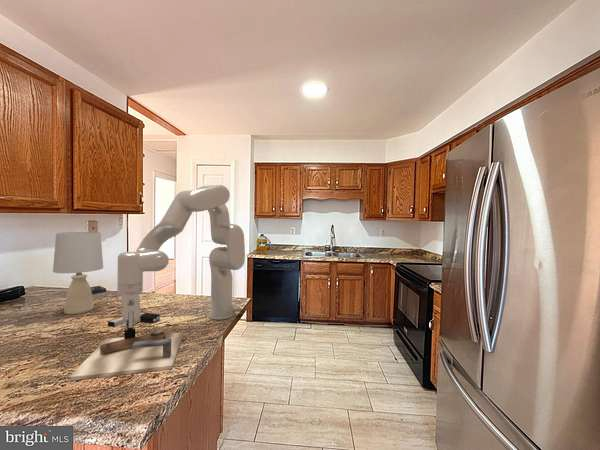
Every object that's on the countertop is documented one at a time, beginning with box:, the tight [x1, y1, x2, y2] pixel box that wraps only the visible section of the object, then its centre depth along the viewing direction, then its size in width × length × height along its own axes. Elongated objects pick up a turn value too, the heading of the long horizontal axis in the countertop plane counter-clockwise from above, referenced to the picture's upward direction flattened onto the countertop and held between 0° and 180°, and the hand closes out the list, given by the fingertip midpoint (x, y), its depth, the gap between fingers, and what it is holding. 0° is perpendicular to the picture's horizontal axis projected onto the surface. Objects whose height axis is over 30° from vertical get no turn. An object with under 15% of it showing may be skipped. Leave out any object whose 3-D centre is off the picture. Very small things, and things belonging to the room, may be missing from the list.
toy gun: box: [107, 311, 161, 328], centre depth 118 cm, size 3×16×12 cm
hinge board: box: [68, 328, 184, 382], centre depth 92 cm, size 26×25×6 cm
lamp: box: [52, 231, 104, 315], centre depth 132 cm, size 19×19×37 cm
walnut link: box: [100, 330, 167, 354], centre depth 95 cm, size 19×4×2 cm, turn 128°
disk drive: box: [90, 285, 107, 295], centre depth 162 cm, size 10×3×15 cm
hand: (129, 340), depth 97 cm, fingers closed
